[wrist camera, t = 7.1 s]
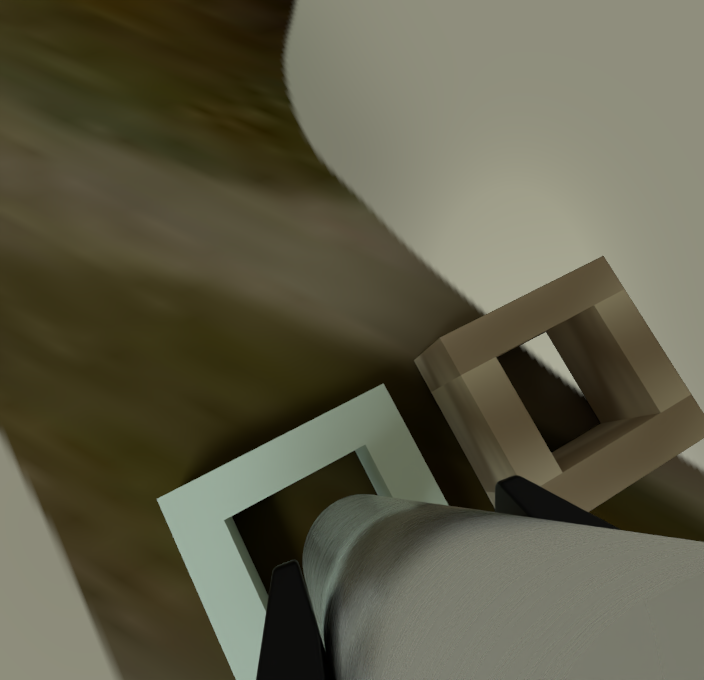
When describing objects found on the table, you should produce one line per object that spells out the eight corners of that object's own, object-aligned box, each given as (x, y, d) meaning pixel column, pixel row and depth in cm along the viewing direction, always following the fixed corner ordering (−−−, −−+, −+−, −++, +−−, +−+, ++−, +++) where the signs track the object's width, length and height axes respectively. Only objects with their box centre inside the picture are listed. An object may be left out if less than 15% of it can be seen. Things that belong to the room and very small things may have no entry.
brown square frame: (646, 438, 25) (714, 431, 21) (504, 526, 23) (550, 535, 19) (555, 288, 26) (603, 255, 22) (413, 360, 24) (439, 337, 20)
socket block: (473, 591, 22) (503, 608, 19) (272, 720, 20) (271, 761, 17) (370, 395, 23) (383, 383, 21) (172, 496, 21) (156, 499, 18)
